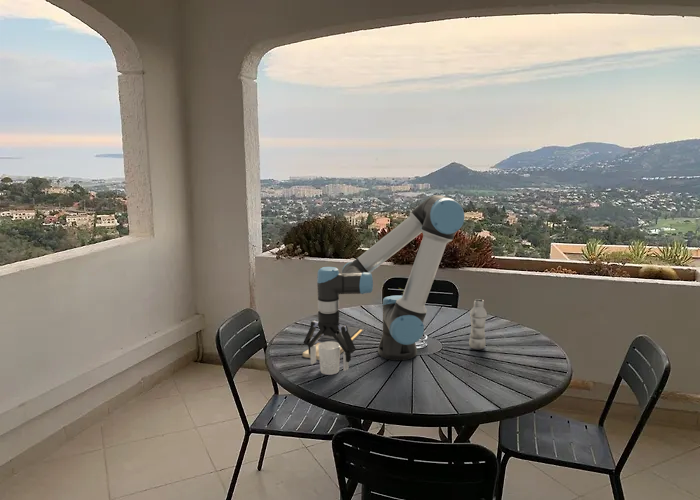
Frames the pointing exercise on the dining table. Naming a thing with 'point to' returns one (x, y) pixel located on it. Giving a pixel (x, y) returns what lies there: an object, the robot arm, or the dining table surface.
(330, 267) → the robot arm
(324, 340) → the black book
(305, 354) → the oak coaster board
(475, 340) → the plastic bottle
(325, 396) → the dining table surface
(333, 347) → the white cup
